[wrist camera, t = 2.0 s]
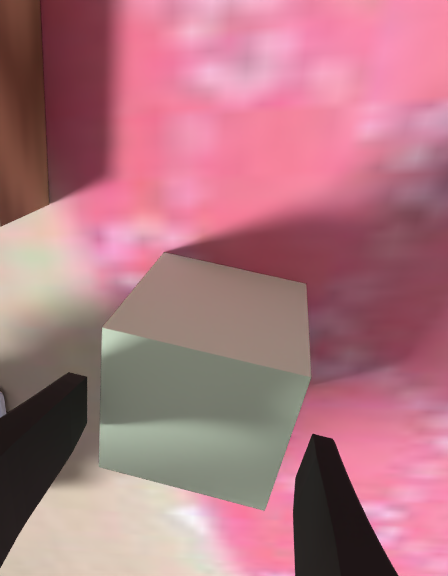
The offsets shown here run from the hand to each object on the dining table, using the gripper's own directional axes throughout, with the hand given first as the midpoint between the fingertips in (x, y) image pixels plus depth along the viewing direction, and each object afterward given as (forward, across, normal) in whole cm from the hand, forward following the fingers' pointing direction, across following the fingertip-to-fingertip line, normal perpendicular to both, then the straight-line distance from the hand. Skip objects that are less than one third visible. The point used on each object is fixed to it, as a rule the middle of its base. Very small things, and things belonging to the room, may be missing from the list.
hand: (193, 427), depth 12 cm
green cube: (+6, 0, 0) cm, 6 cm away
